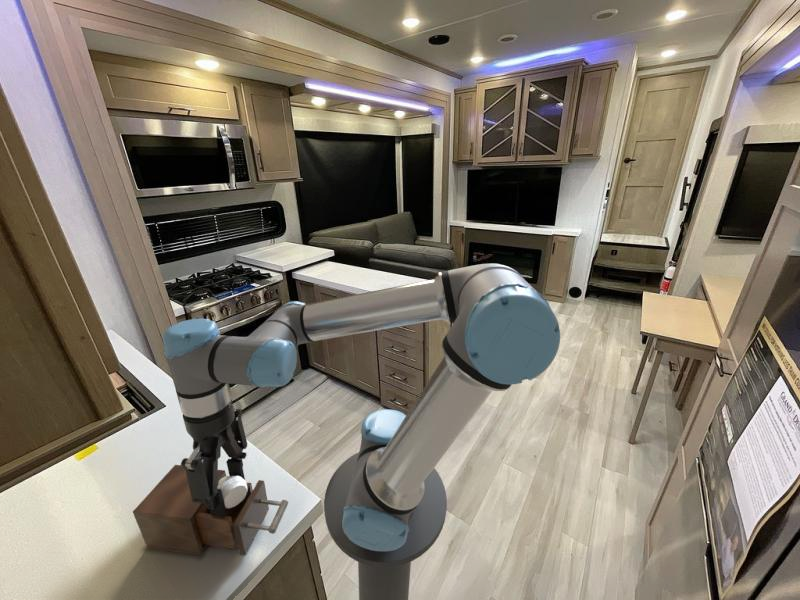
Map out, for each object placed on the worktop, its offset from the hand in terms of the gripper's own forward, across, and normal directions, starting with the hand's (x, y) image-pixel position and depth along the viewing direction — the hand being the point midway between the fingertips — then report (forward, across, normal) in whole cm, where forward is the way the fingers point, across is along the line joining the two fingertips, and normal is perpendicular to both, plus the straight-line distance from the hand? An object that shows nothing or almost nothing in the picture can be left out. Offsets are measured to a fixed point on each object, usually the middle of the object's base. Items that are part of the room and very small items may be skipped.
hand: (229, 498), depth 63 cm
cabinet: (+10, 0, -10) cm, 14 cm away
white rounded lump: (0, 0, 0) cm, 1 cm away
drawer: (+9, 0, +3) cm, 9 cm away
